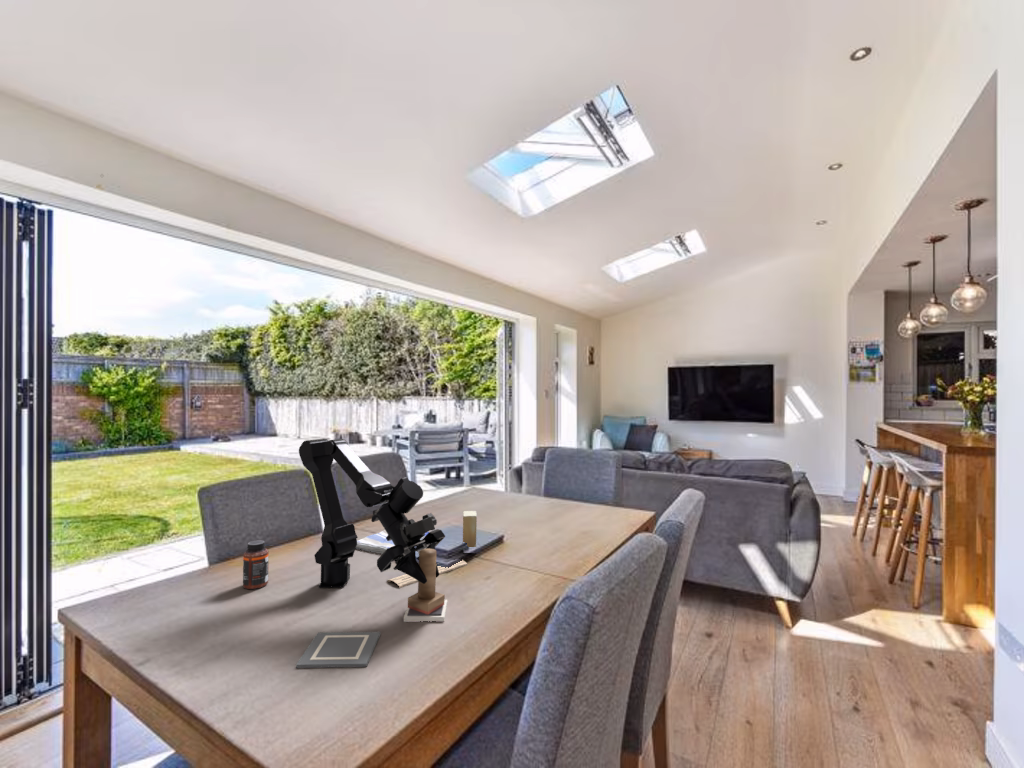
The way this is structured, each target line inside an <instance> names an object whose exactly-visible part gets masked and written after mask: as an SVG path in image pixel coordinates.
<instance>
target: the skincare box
mask: <svg viewBox="0 0 1024 768" xmlns="http://www.w3.org/2000/svg"><path fill="white" fill-rule="evenodd" d="M477 516H478V514H477V510H464V511H463V512H462V543H463V542H465V543H467V546H468V547H476V548H477V522H478V520H477V519H478V518H477Z"/></svg>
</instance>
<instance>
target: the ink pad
mask: <svg viewBox="0 0 1024 768" xmlns="http://www.w3.org/2000/svg"><path fill="white" fill-rule="evenodd" d="M447 607H448V599H445V600H444V605H443V606H441V607H439V608H438V609H436V610H435V611H433V612H431V613H430V614H425V613H422V612H419V611H416V610H413V609H410V608H408V606H407V608H406V611H405V613H404V617H403V623H407V622H408V623H412V622H416V623H417V622H418V623H420V621H421V623H422V622H423V621H428V622H429V621H430V622H432V621H436V622H445V618H446V613H447ZM423 623H424V622H423Z"/></svg>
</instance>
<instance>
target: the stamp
mask: <svg viewBox="0 0 1024 768" xmlns="http://www.w3.org/2000/svg"><path fill="white" fill-rule="evenodd" d="M418 557H419V560H418V564H419V566H420V568H421V569H422V571H423V573H424V575H425V577H426V579H427V582H426V583H425V584H423V583H421V582H420V581H418V582H417V585H418V586H417V592H416V593H414V594H412V595H410V596H409V597H407V607H408V608H410V609H413V610H416V611H419V612H422V613H425V614H430V613H431V612H433V611H435V610H436V609H438V608H439V607H441V606H443V605H444V600H446V599H445V597H446V596H445V594H444V593H440V592H437V591H436V581H437V580H436V579H437V578H436V563H437V550H436V548H435V549H422V550H420V551H419V554H418Z"/></svg>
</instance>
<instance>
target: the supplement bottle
mask: <svg viewBox="0 0 1024 768" xmlns="http://www.w3.org/2000/svg"><path fill="white" fill-rule="evenodd" d="M265 544H266V543H265V541H264V540H261V539H260V540H258V539H257V540H251V541H249V542H248V543H247V550H246V551H244V553H243V555H242V558H243V559H242V586H243V588H244V589H246V590H257V589H260V588H263V587H265V586H266V585H268V583H269V558H270V557H269V553H270V552H269V550H268V548H266V547H265V546H266V545H265Z"/></svg>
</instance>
